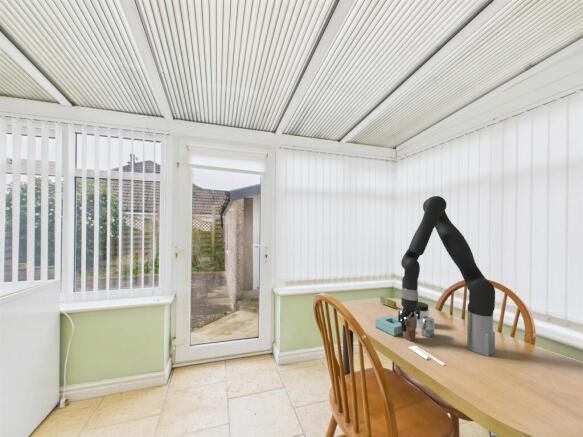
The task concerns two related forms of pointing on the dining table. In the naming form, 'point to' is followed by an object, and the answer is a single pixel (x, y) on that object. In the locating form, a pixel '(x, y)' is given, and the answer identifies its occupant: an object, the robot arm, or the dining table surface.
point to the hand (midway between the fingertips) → (409, 329)
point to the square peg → (410, 329)
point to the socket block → (389, 325)
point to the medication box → (388, 302)
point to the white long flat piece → (424, 354)
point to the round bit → (427, 327)
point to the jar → (422, 312)
